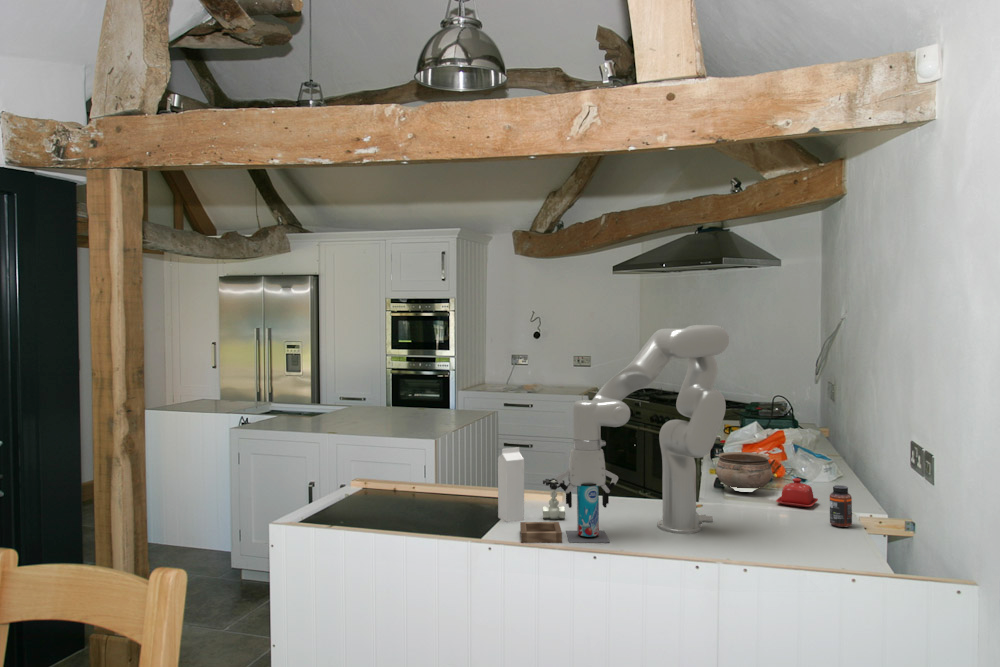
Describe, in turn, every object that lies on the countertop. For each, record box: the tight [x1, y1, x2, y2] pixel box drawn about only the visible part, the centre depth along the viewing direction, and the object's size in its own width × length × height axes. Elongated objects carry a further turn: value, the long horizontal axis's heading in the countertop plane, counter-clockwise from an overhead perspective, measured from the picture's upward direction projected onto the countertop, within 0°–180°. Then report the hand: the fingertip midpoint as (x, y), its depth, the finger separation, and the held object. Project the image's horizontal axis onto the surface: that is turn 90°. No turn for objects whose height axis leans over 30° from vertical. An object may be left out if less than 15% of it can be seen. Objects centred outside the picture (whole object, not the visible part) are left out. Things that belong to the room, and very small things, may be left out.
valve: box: [542, 477, 566, 521], centre depth 221 cm, size 7×7×12 cm
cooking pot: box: [715, 451, 773, 488], centre depth 258 cm, size 25×19×12 cm
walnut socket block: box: [520, 521, 563, 544], centre depth 202 cm, size 11×11×3 cm
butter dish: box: [775, 477, 819, 508], centre depth 239 cm, size 12×12×8 cm
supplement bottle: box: [829, 484, 853, 528], centre depth 214 cm, size 6×6×11 cm
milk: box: [497, 446, 525, 523], centre depth 221 cm, size 6×6×22 cm
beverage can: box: [576, 484, 600, 539], centre depth 202 cm, size 6×6×15 cm
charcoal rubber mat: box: [565, 529, 611, 544], centre depth 202 cm, size 11×11×1 cm
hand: (587, 506), depth 202 cm, fingers open, 9 cm apart
